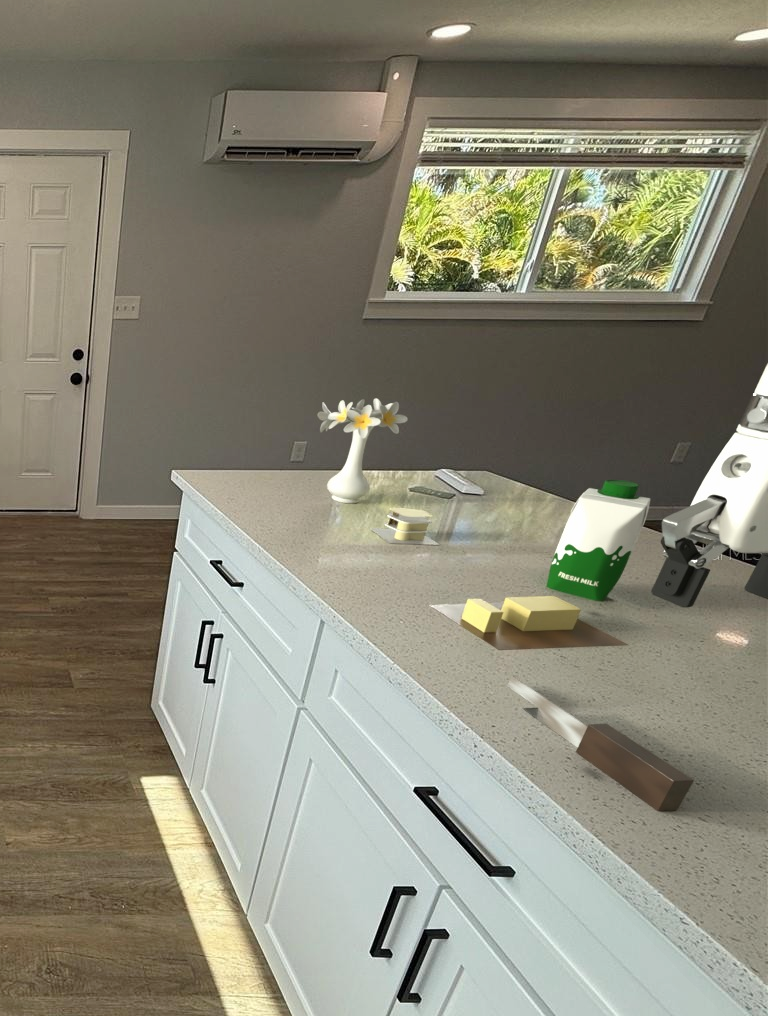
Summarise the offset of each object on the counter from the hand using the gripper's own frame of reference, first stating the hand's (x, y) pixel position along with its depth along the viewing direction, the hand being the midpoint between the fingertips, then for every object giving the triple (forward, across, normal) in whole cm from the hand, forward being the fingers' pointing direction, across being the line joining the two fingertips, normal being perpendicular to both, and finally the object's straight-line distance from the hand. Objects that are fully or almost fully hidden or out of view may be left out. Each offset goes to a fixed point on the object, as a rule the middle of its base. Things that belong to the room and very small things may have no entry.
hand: (717, 599), depth 61 cm
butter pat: (+21, +9, +31) cm, 38 cm away
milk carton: (+22, +36, +42) cm, 60 cm away
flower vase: (+22, +28, +96) cm, 102 cm away
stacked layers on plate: (+22, +26, +71) cm, 79 cm away
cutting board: (+22, +16, +31) cm, 41 cm away
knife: (+22, 0, +6) cm, 23 cm away
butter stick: (+21, +18, +31) cm, 41 cm away
